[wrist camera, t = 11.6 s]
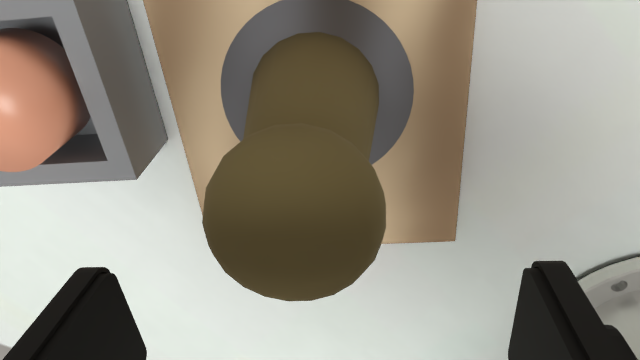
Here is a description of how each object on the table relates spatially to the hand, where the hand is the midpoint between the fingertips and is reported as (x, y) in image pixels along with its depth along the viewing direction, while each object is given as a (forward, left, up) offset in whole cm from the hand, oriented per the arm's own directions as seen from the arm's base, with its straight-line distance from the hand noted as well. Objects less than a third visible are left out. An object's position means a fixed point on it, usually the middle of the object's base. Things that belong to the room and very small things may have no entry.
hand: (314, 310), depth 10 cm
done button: (+13, -3, -11) cm, 17 cm away
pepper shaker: (+1, -1, -13) cm, 13 cm away
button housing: (+13, -3, -13) cm, 18 cm away
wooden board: (+1, -1, -13) cm, 13 cm away
